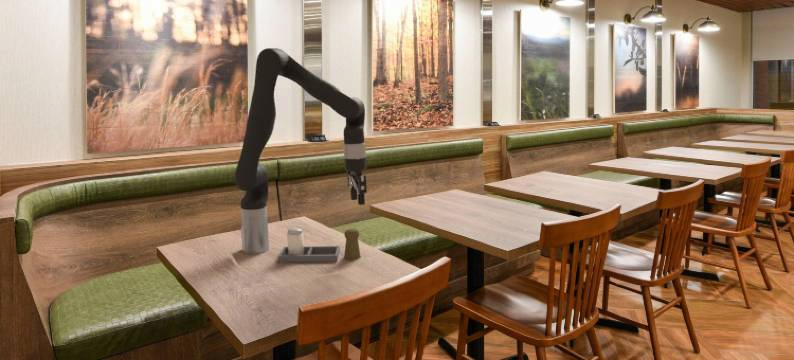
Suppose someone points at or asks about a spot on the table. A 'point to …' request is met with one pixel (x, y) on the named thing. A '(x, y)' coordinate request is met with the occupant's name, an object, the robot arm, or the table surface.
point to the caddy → (312, 254)
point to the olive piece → (352, 244)
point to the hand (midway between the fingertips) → (357, 202)
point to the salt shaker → (295, 241)
